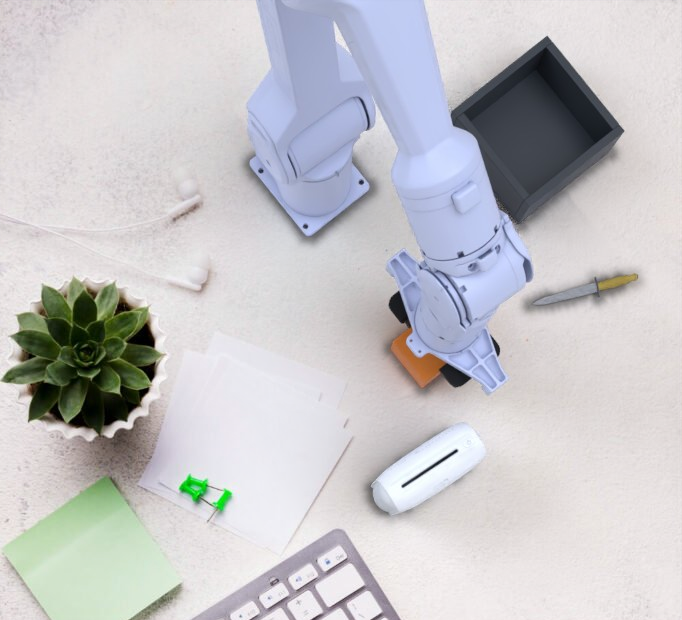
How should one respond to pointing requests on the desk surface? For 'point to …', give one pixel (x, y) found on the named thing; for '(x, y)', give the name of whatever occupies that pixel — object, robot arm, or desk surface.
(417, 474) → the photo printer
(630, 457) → the desk surface
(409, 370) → the block
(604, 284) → the dagger
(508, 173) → the bin
